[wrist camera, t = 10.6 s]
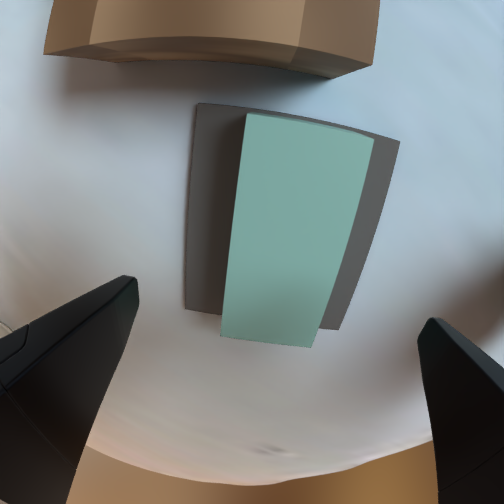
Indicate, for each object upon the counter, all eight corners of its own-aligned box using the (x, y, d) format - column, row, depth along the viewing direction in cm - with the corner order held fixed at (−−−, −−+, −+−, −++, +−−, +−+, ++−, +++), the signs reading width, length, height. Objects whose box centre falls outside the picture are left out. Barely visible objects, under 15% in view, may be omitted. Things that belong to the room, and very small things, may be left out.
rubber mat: (396, 140, 12) (400, 141, 11) (337, 325, 17) (338, 330, 17) (200, 103, 12) (197, 103, 11) (186, 304, 17) (185, 308, 17)
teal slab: (355, 132, 11) (374, 139, 9) (307, 315, 16) (311, 347, 14) (251, 111, 11) (247, 113, 9) (226, 304, 16) (220, 336, 14)
